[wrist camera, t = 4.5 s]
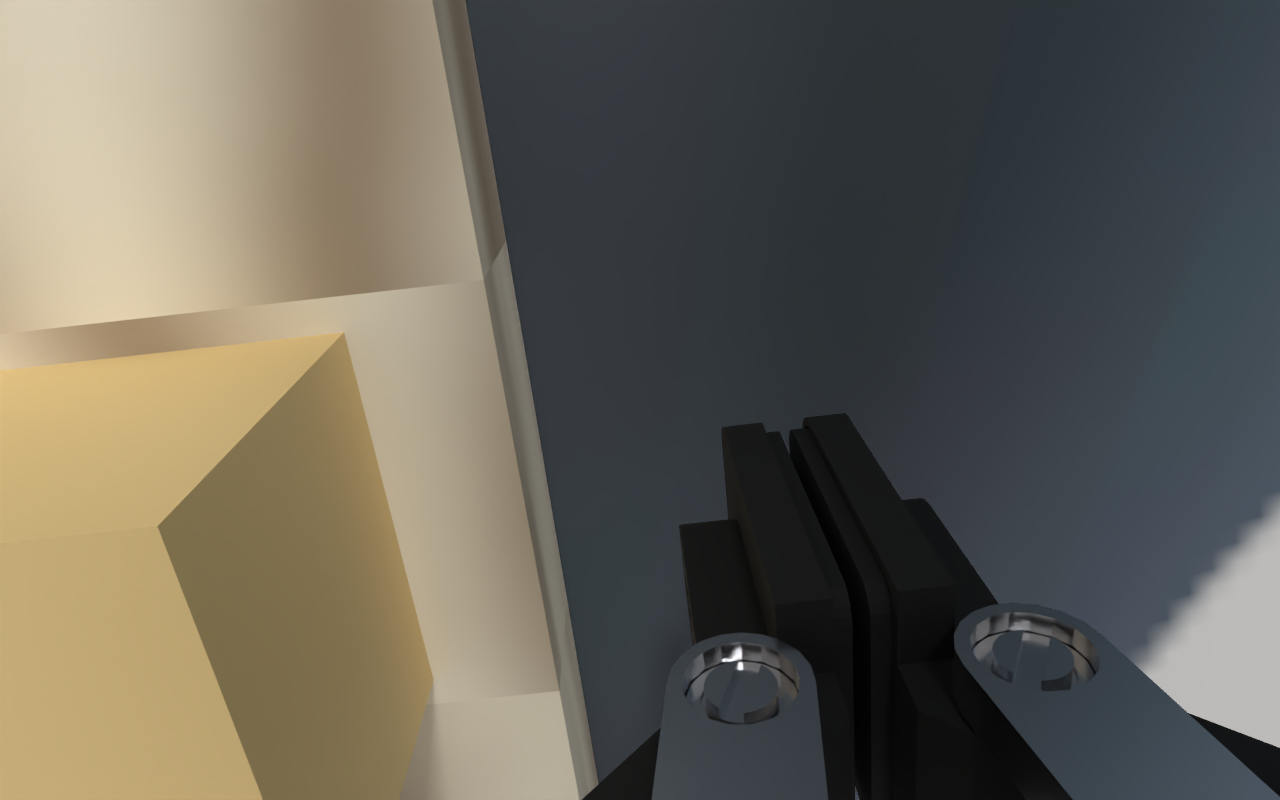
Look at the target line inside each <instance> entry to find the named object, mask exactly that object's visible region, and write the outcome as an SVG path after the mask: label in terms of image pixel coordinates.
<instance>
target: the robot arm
mask: <svg viewBox="0 0 1280 800" xmlns="http://www.w3.org/2000/svg"><path fill="white" fill-rule="evenodd" d="M722 445H723V457H724V469H725V482H726V494H727V507H728V520H719V521H710V522H702V523H693V524H684V525H679V529H680V539H681V549H682V558H683V567H684V576H685V585H686V594H687V603H688V611H689V619H690V628H691V635H692V643H693V646H692V647H691V648H689V649H688V650H686V651H684V652H683V653H682V655H681V656H680V657H679V658H678V659H677V660H676V662H675V663H674V664H673V665H672V667H671V670H670V673H669V676H668V679H667V683H666V690H665V698H664V706H663V714H662V722H661V728H660V729H659V730H658V731H657V732H656V733H654V734H653V735H652V736H651V737H650V738H649V739H648V740H647V741H646V742H645V743H643V744H642V745H641V746H640V747H639V748H638V749H637V750H636V751H635V752H634V753H632V754H631V755H630V756H629V757H628V758H627V759H626V760H625V761H624V762H623V763H621V764H620V765H619V766H618V767H617V768H616V769H615V770H614V771H613V772H612V773H610V774H609V775H608V776H607V777H606V778H605V779H604V780H603V781H602V782H601V783H599V784H598V785H597V786H596V787H595V788H594V789H593V790H592V791H591V792H590V793H588V794H587V795H586V796H585V797H584V798H583V799H582V800H855V786H856V789H857V792H858V795H859V798H860V800H1280V748H1278V747H1276V746H1273V745H1270V744H1268V743H1265V742H1262V741H1260V740H1257V739H1255V738H1252V737H1249V736H1247V735H1244V734H1242V733H1239V732H1236V731H1233V730H1231V729H1228V728H1226V727H1223V726H1220V725H1218V724H1215V723H1212V722H1210V721H1207V720H1204V719H1202V718H1200V717H1197V716H1194V715H1192V714H1189V713H1187V712H1186V711H1185V710H1184V709H1182V708H1181V707H1180V706H1179V705H1178V704H1177V703H1176V702H1175V701H1174V700H1173V699H1172V698H1171V697H1169V696H1168V695H1167V694H1166V693H1165V692H1164V691H1163V690H1162V689H1161V688H1160V687H1159V686H1157V685H1156V684H1155V683H1154V682H1153V681H1152V680H1151V679H1150V678H1149V677H1148V676H1146V675H1145V674H1144V673H1143V672H1142V671H1141V670H1140V669H1139V668H1138V667H1137V666H1136V665H1134V664H1133V663H1132V662H1131V661H1130V660H1129V659H1128V658H1127V657H1126V656H1125V655H1123V654H1122V653H1121V652H1120V651H1119V650H1118V649H1117V648H1116V647H1115V646H1114V645H1112V644H1111V643H1110V642H1109V641H1108V640H1107V639H1106V638H1105V637H1104V636H1103V635H1101V634H1100V633H1099V632H1097V631H1096V630H1095V629H1093V628H1092V627H1090V626H1089V625H1088V624H1086V623H1085V622H1083V621H1082V620H1079V619H1077V618H1075V617H1073V616H1070V615H1068V614H1066V613H1064V612H1062V611H1058V610H1055V609H1051V608H1047V607H1043V606H1039V605H1032V604H1020V603H1007V604H998V602H997V601H996V599H995V598H994V597H993V595H992V594H991V592H990V591H989V589H988V588H987V587H986V585H985V584H984V582H983V581H982V579H981V578H980V576H979V575H978V574H977V572H976V571H975V569H974V568H973V566H972V565H971V564H970V562H969V561H968V559H967V558H966V556H965V555H964V554H963V552H962V551H961V549H960V548H959V546H958V545H957V543H956V542H955V541H954V539H953V538H952V536H951V535H950V533H949V532H948V531H947V529H946V528H945V526H944V525H943V523H942V522H941V520H940V519H939V518H938V516H937V515H936V513H935V512H934V510H933V509H932V508H931V506H930V505H929V504H928V503H927V502H926V501H925V500H924V499H921V498H917V499H908V500H901V498H900V497H899V495H898V494H897V492H896V490H895V489H894V487H893V486H892V484H891V483H890V481H889V480H888V478H887V476H886V475H885V473H884V472H883V470H882V469H881V467H880V466H879V464H878V462H877V461H876V459H875V458H874V456H873V455H872V453H871V451H870V450H869V448H868V447H867V445H866V444H865V442H864V441H863V439H862V437H861V436H860V434H859V433H858V431H857V430H856V428H855V427H854V425H853V423H852V422H851V420H850V419H849V417H848V416H847V415H846V414H845V413H843V414H834V415H826V416H817V417H808V418H804V420H803V427H802V429H794V430H790V434H789V446H790V455H789V453H788V450H787V448H786V446H785V444H784V441H783V439H782V437H781V434H780V432H779V431H777V432H768V433H766V430H765V428H764V426H763V424H762V423H755V424H746V425H737V426H728V427H722Z"/></svg>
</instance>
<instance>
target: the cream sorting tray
mask: <svg viewBox="0 0 1280 800" xmlns="http://www.w3.org/2000/svg"><path fill="white" fill-rule="evenodd" d="M341 332H344V334H345V338H346V342H347V345H348V349H349V353H350V357H351V361H352V365H353V369H354V373H355V377H356V380H357V384H358V388H359V392H360V396H361V400H362V404H363V408H364V411H365V415H366V419H367V423H368V427H369V431H370V435H371V439H372V443H373V446H374V450H375V454H376V458H377V462H378V466H379V470H380V474H381V478H382V481H383V485H384V489H385V493H386V497H387V501H388V505H389V509H390V512H391V516H392V520H393V524H394V528H395V532H396V536H397V540H398V544H399V547H400V551H401V555H402V559H403V563H404V567H405V571H406V575H407V578H408V582H409V586H410V590H411V594H412V598H413V602H414V606H415V610H416V613H417V617H418V621H419V625H420V629H421V633H422V637H423V641H424V644H425V648H426V652H427V656H428V660H429V664H430V668H431V672H432V676H433V679H434V680H433V683H432V687H431V690H430V694H429V697H428V701H427V704H426V708H425V711H424V715H423V718H422V722H421V725H420V729H419V732H418V736H417V739H416V743H415V746H414V750H413V753H412V757H411V760H410V763H409V767H408V770H407V774H406V777H405V781H404V784H403V788H402V791H401V795H400V798H399V800H582V799H583V798H584V797H585V796H586V795H587V794H588V793H590V792H591V791H592V790H593V789H594V788H595V787H596V786H597V785H598V784H599V783H598V777H597V772H596V766H595V760H594V754H593V748H592V742H591V736H590V730H589V725H588V719H587V713H586V707H585V701H584V695H583V689H582V683H581V677H580V672H579V666H578V660H577V654H576V648H575V642H574V636H573V630H572V625H571V619H570V613H569V607H568V601H567V595H566V589H565V583H564V578H563V572H562V566H561V560H560V554H559V548H558V542H557V536H556V531H555V525H554V519H553V513H552V507H551V501H550V495H549V489H548V484H547V478H546V472H545V466H544V460H543V454H542V448H541V442H540V437H539V431H538V425H537V419H536V413H535V407H534V401H533V395H532V390H531V384H530V378H529V372H528V366H527V360H526V354H525V348H524V342H523V337H522V331H521V325H520V319H519V313H518V307H517V301H516V295H515V290H514V284H513V278H512V272H511V266H510V260H509V254H508V248H507V243H506V237H505V231H504V225H503V219H502V213H501V207H500V201H499V196H498V190H497V184H496V178H495V172H494V166H493V160H492V154H491V149H490V143H489V137H488V131H487V125H486V119H485V113H484V107H483V102H482V96H481V90H480V84H479V78H478V72H477V66H476V60H475V54H474V49H473V43H472V37H471V31H470V25H469V19H468V13H467V7H466V2H465V0H0V370H9V369H18V368H27V367H36V366H45V365H54V364H63V363H72V362H81V361H90V360H99V359H108V358H117V357H126V356H135V355H144V354H153V353H162V352H171V351H180V350H189V349H198V348H207V347H216V346H225V345H234V344H243V343H252V342H261V341H270V340H279V339H288V338H296V337H305V336H314V335H323V334H332V333H341Z"/></svg>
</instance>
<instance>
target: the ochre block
mask: <svg viewBox="0 0 1280 800" xmlns="http://www.w3.org/2000/svg"><path fill="white" fill-rule="evenodd" d="M433 680H434V679H433V676H432V672H431V668H430V664H429V660H428V656H427V652H426V648H425V644H424V641H423V637H422V633H421V629H420V625H419V621H418V617H417V613H416V610H415V606H414V602H413V598H412V594H411V590H410V586H409V582H408V578H407V575H406V571H405V567H404V563H403V559H402V555H401V551H400V547H399V544H398V540H397V536H396V532H395V528H394V524H393V520H392V516H391V512H390V509H389V505H388V501H387V497H386V493H385V489H384V485H383V481H382V478H381V474H380V470H379V466H378V462H377V458H376V454H375V450H374V446H373V443H372V439H371V435H370V431H369V427H368V423H367V419H366V415H365V411H364V408H363V404H362V400H361V396H360V392H359V388H358V384H357V380H356V377H355V373H354V369H353V365H352V361H351V357H350V353H349V349H348V345H347V342H346V338H345V334H344V332H341V333H332V334H323V335H314V336H305V337H296V338H288V339H279V340H270V341H261V342H252V343H243V344H234V345H225V346H216V347H207V348H198V349H189V350H180V351H171V352H162V353H153V354H144V355H135V356H126V357H117V358H108V359H99V360H90V361H81V362H72V363H63V364H54V365H45V366H36V367H27V368H18V369H9V370H0V800H399V798H400V795H401V791H402V788H403V784H404V781H405V777H406V774H407V770H408V767H409V763H410V760H411V757H412V753H413V750H414V746H415V743H416V739H417V736H418V732H419V729H420V725H421V722H422V718H423V715H424V711H425V708H426V704H427V701H428V697H429V694H430V690H431V687H432V683H433Z"/></svg>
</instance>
